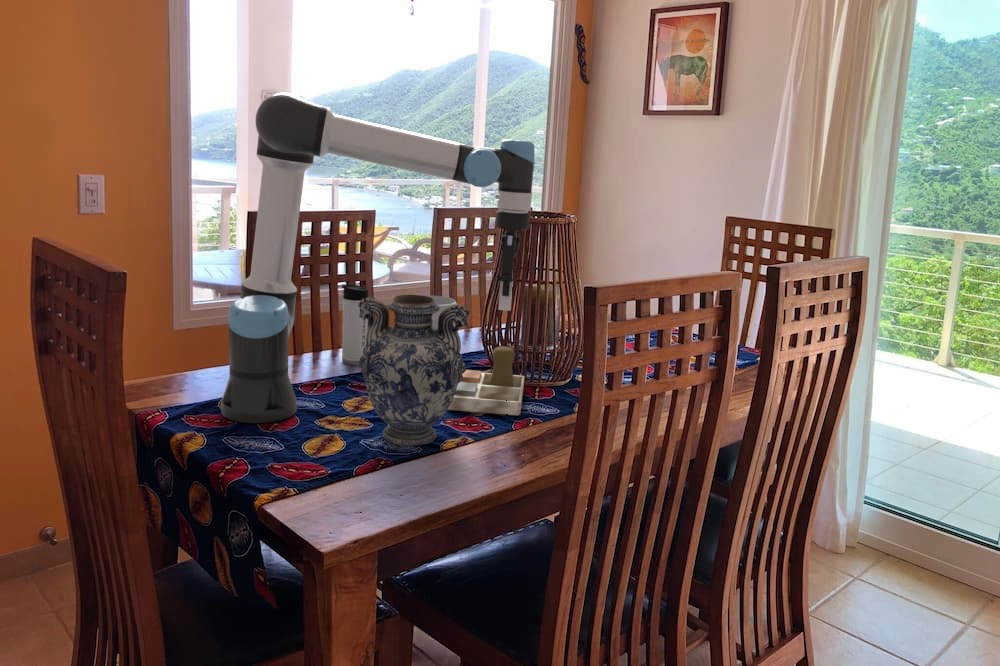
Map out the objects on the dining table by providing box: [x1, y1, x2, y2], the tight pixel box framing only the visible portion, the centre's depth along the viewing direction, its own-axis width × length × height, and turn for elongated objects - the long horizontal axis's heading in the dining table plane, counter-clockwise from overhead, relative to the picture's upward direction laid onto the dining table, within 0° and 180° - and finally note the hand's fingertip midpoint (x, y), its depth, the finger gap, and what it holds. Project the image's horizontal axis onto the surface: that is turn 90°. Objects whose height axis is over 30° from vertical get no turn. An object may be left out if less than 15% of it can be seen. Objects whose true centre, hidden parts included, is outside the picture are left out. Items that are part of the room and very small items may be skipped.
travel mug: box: [341, 284, 369, 366], centre depth 210 cm, size 6×7×20 cm
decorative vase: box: [358, 294, 470, 447], centre depth 161 cm, size 21×19×28 cm
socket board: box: [447, 369, 525, 416], centre depth 190 cm, size 16×20×4 cm
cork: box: [490, 346, 516, 387], centre depth 194 cm, size 6×6×11 cm
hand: (506, 304), depth 190 cm, fingers open, 13 cm apart
